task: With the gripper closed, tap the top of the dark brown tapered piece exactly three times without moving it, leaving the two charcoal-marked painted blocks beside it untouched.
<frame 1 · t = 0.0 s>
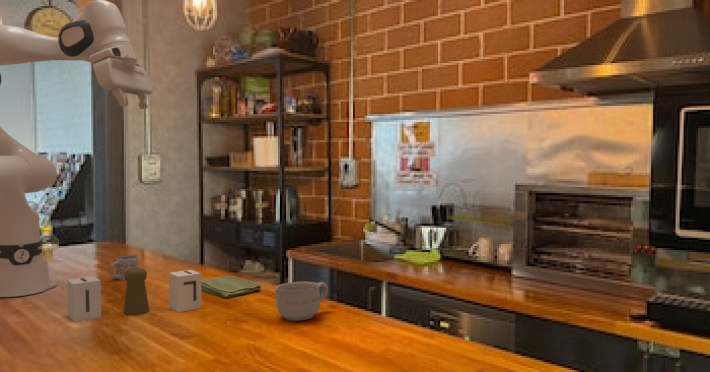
hand: (134, 107, 147), 52 cm above the countertop, tool tilted 20°, fingers open, 8 cm apart
mug: (123, 279, 173), on the countertop
grey marked block: (84, 316, 132), on the countertop
washcloth: (227, 291, 159), on the countertop
cream marked block: (185, 307, 140), on the countertop
teacup: (304, 317, 133), on the countertop
dark brown tapered piece: (136, 312, 136), on the countertop
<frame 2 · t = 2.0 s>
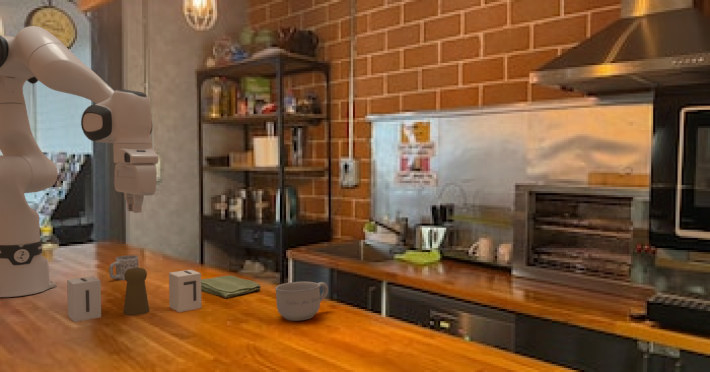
hand: (134, 211, 135), 25 cm above the countertop, tool pointing down, fingers open, 3 cm apart
nothing on the countertop moved.
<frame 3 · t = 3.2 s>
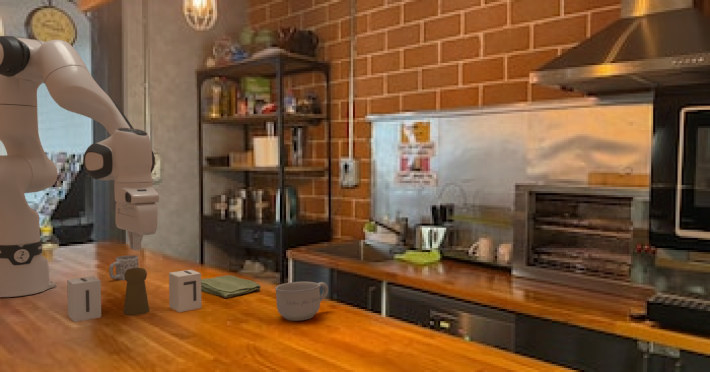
hand: (135, 249, 135), 16 cm above the countertop, tool pointing down, fingers closed
nothing on the countertop moved.
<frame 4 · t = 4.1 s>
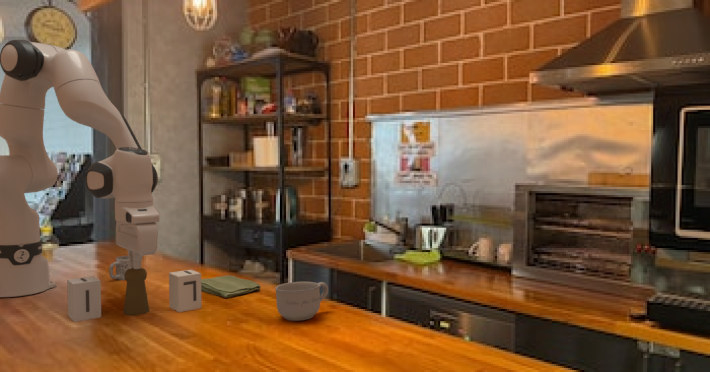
hand: (135, 268, 136), 11 cm above the countertop, tool pointing down, fingers closed, pressing on dark brown tapered piece
dark brown tapered piece: (136, 312, 136), on the countertop, touching gripper
everything else where it was.
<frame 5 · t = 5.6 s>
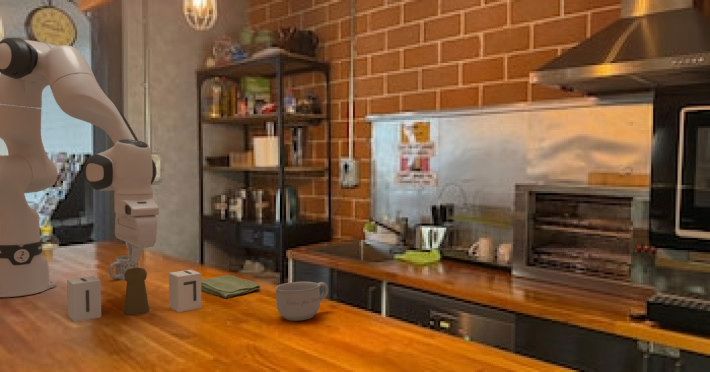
hand: (134, 260, 136), 13 cm above the countertop, tool pointing down, fingers closed
dark brown tapered piece: (136, 312, 136), on the countertop
everything else where it was.
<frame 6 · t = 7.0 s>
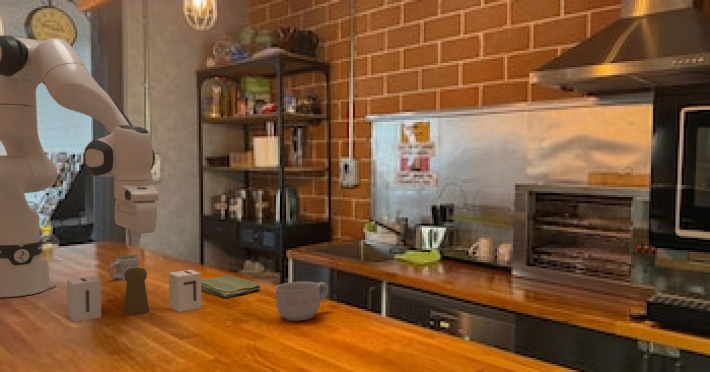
hand: (134, 246, 135), 16 cm above the countertop, tool pointing down, fingers closed
nothing on the countertop moved.
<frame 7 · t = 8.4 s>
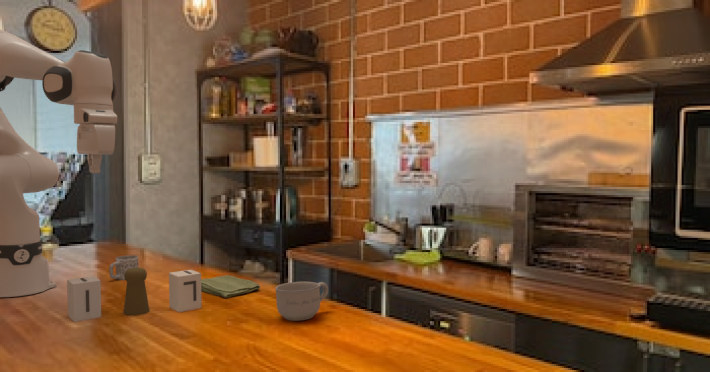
hand: (94, 172, 136), 35 cm above the countertop, tool pointing down, fingers closed
nothing on the countertop moved.
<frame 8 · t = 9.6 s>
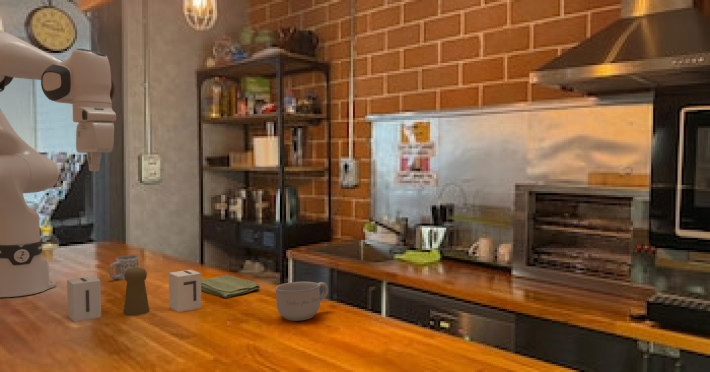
hand: (94, 171, 136), 35 cm above the countertop, tool pointing down, fingers closed
nothing on the countertop moved.
at the end: dark brown tapered piece moved 0.2 cm from its start; dark brown tapered piece tilted 0°; grey marked block moved 0.1 cm from its start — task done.
